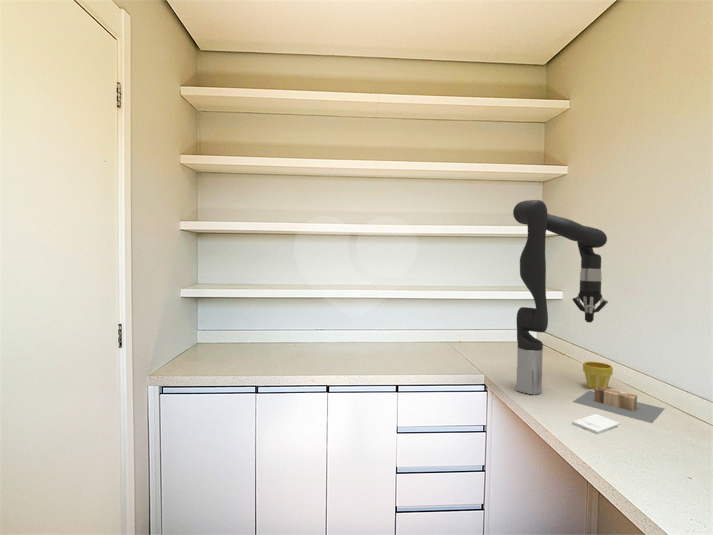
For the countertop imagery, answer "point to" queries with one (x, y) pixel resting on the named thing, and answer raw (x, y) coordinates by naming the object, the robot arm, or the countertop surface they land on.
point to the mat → (640, 413)
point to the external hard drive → (596, 423)
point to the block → (616, 398)
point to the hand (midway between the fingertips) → (589, 322)
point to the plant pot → (597, 374)
